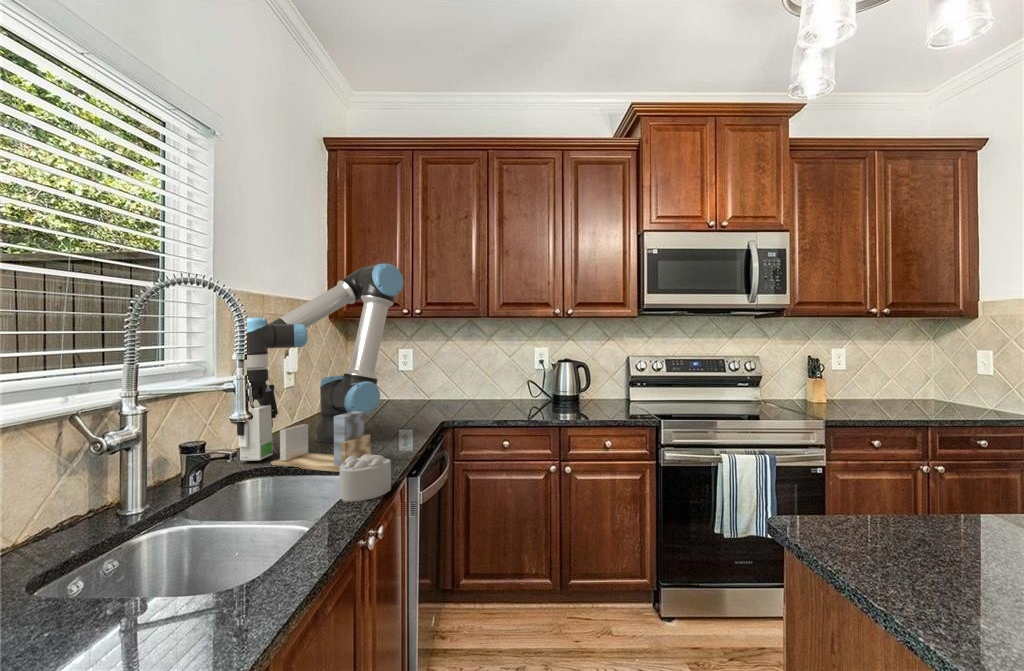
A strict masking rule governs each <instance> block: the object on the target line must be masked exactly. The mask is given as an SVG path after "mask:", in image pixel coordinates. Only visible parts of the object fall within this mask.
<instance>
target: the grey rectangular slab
mask: <svg viewBox="0 0 1024 671" xmlns="http://www.w3.org/2000/svg"><path fill="white" fill-rule="evenodd" d="M308 453H309V424H307V423H306V424H304V423H302V424H299V425H294V426H290V427H287V428H282V429H279V459H280V461H287V460H290V459H293V458H296V457H299V456H302V455H305V454H308Z"/></svg>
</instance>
